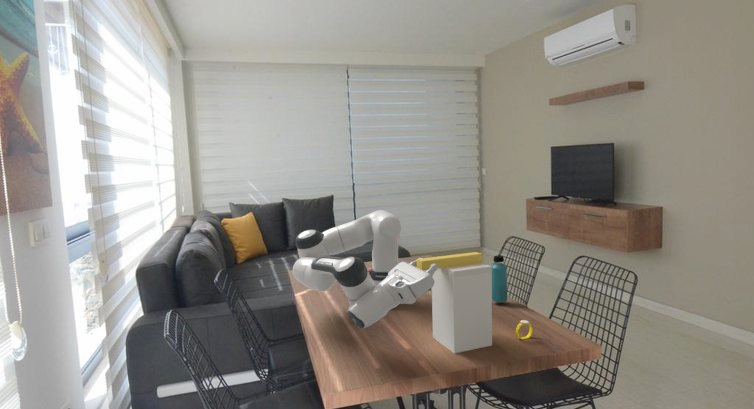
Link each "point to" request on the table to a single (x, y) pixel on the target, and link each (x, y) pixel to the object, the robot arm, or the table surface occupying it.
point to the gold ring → (522, 322)
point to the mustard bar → (450, 260)
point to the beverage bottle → (499, 280)
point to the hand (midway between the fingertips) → (429, 262)
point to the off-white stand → (462, 307)
